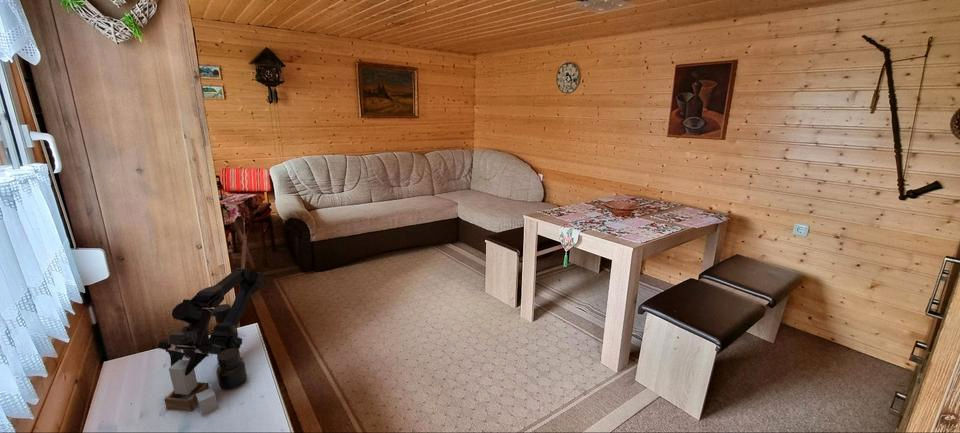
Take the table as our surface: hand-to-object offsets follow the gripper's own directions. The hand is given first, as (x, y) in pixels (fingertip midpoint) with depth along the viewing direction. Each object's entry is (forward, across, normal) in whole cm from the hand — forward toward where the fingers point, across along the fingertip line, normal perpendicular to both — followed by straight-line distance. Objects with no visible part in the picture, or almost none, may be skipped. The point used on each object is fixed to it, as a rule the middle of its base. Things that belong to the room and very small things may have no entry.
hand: (179, 374), depth 132 cm
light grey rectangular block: (+4, 0, +6) cm, 7 cm away
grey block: (+9, +9, +8) cm, 15 cm away
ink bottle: (0, +9, +16) cm, 19 cm away
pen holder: (-10, -17, +27) cm, 33 cm away
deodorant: (-16, -10, +34) cm, 39 cm away
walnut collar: (+7, 0, +9) cm, 12 cm away
